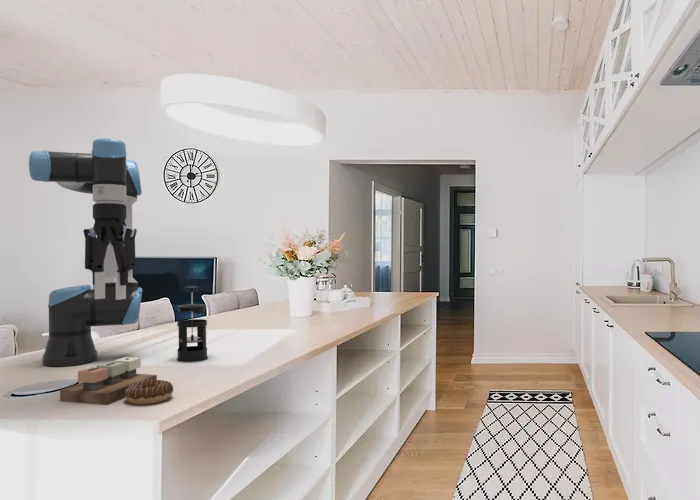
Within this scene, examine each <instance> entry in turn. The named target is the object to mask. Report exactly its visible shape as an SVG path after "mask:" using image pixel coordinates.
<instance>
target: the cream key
mask: <svg viewBox="0 0 700 500" xmlns="http://www.w3.org/2000/svg"><path fill="white" fill-rule="evenodd" d="M113 362H119V363H125V371H131V370H134V369H136V370H137V369H140V368H141V365H142V364H141V357H132V356H131V357H129V356H125V357H120V358H118V359H114V360H113Z"/></svg>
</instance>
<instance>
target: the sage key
mask: <svg viewBox="0 0 700 500" xmlns="http://www.w3.org/2000/svg"><path fill="white" fill-rule="evenodd" d="M96 367H98V368H108V377H113V376H116V375H119V374H122V373H125V363H119V362H114V361H107V362H105V363H101V364H97V365H96Z"/></svg>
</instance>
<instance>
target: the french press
mask: <svg viewBox="0 0 700 500" xmlns="http://www.w3.org/2000/svg"><path fill="white" fill-rule="evenodd" d="M184 289H189V290H190V294H191V301H190V303H187V304H186V303H185V304H181V305H177V309H178V314H180V313H185V312H191V319H182V320H178V321H177V323H176V324H177V325H176V326H177V327H178V348H177V358H176V361H177V362H181V363H195V362H196V363H197V362H203V361H206V360H208V358H209V357H208V348H207V325H208V320H207V319H204V318H203V319H201V318H200V319H199V318H197V319H196V318H194V314H204V313H206V307H207V305H208V304H200V303H194V301H193V299H194V296H193V294H194V289H199V286H196V285H190V286H185V287H184ZM188 328H191V335H190V336H188ZM194 328H196V329H197V331H196V335H197V336H194ZM194 343H197V344H196V345H190V346H188V344H194Z"/></svg>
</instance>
